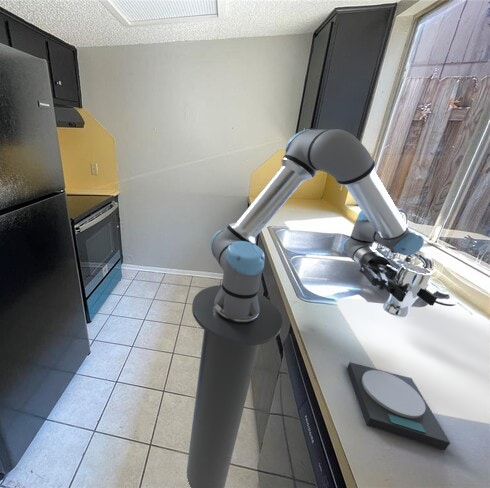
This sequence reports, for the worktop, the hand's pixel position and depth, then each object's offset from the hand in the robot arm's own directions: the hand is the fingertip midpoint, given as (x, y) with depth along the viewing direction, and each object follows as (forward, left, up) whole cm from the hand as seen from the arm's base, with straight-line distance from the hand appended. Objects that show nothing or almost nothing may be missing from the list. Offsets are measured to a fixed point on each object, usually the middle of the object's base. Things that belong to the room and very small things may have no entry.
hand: (418, 299), depth 71 cm
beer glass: (-5, -1, -8) cm, 10 cm away
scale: (+25, -11, -15) cm, 31 cm away
